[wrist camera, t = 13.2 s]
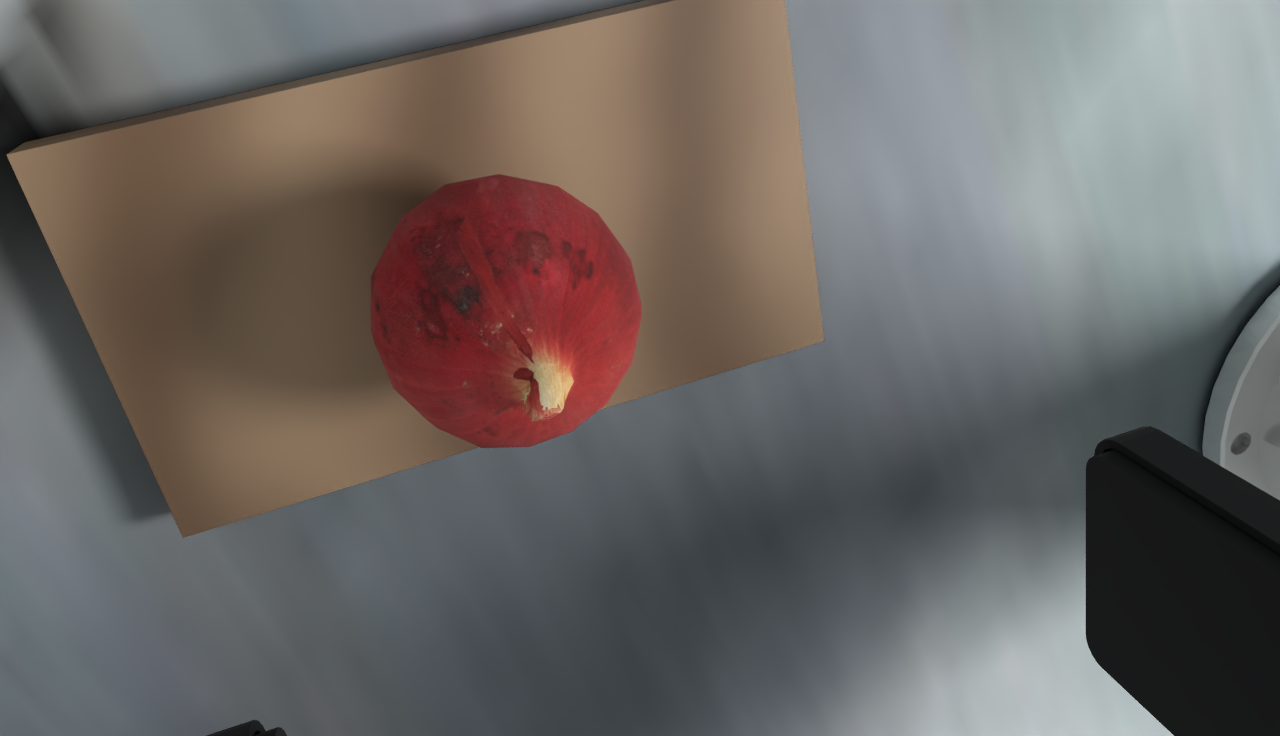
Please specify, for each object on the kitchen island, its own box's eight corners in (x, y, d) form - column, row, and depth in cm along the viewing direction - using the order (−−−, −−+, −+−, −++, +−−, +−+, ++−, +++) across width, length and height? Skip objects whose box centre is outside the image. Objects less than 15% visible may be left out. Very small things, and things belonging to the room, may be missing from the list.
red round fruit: (310, 248, 24) (309, 375, 17) (500, 98, 24) (579, 162, 17) (465, 413, 27) (519, 582, 20) (636, 278, 27) (752, 397, 20)
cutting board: (758, -26, 26) (782, -25, 25) (802, 324, 30) (824, 341, 29) (23, 142, 23) (6, 154, 21) (189, 508, 27) (182, 537, 26)
